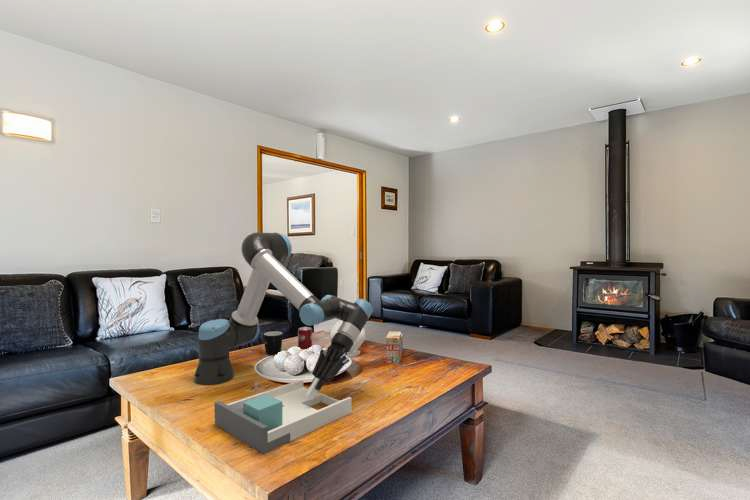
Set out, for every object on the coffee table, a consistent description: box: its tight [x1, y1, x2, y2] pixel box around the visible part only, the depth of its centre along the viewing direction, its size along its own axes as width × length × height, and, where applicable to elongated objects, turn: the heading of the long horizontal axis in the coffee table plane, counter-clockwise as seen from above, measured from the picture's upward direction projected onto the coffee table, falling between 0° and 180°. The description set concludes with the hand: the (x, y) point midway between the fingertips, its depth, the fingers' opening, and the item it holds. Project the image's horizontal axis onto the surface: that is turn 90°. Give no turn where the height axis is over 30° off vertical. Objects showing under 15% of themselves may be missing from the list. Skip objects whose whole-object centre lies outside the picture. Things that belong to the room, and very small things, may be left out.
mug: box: [263, 331, 283, 356], centre depth 199 cm, size 12×9×10 cm
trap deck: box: [214, 379, 353, 455], centre depth 127 cm, size 34×26×7 cm
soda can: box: [297, 326, 313, 349], centre depth 203 cm, size 7×7×12 cm
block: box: [243, 395, 283, 431], centre depth 117 cm, size 8×8×7 cm
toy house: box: [385, 330, 404, 365], centre depth 195 cm, size 21×6×12 cm, turn 171°
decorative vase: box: [329, 319, 366, 357], centre depth 201 cm, size 18×18×25 cm
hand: (308, 397), depth 130 cm, fingers closed
